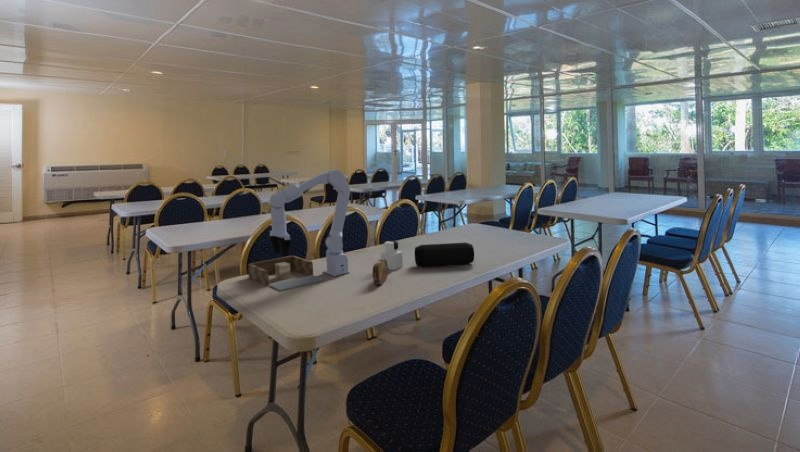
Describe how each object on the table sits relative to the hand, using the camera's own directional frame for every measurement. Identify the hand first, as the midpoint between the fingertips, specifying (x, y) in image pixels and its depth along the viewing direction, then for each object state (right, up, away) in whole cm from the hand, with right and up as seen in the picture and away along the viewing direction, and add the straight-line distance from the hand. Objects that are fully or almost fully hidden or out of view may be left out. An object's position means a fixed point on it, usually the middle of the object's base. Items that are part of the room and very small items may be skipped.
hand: (281, 254), depth 181 cm
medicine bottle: (+46, -7, +13) cm, 48 cm away
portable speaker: (+69, -6, +15) cm, 71 cm away
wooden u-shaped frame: (-1, -10, +3) cm, 10 cm away
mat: (+8, -11, -7) cm, 16 cm away
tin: (+42, -11, -8) cm, 44 cm away
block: (+1, -10, +1) cm, 10 cm away
